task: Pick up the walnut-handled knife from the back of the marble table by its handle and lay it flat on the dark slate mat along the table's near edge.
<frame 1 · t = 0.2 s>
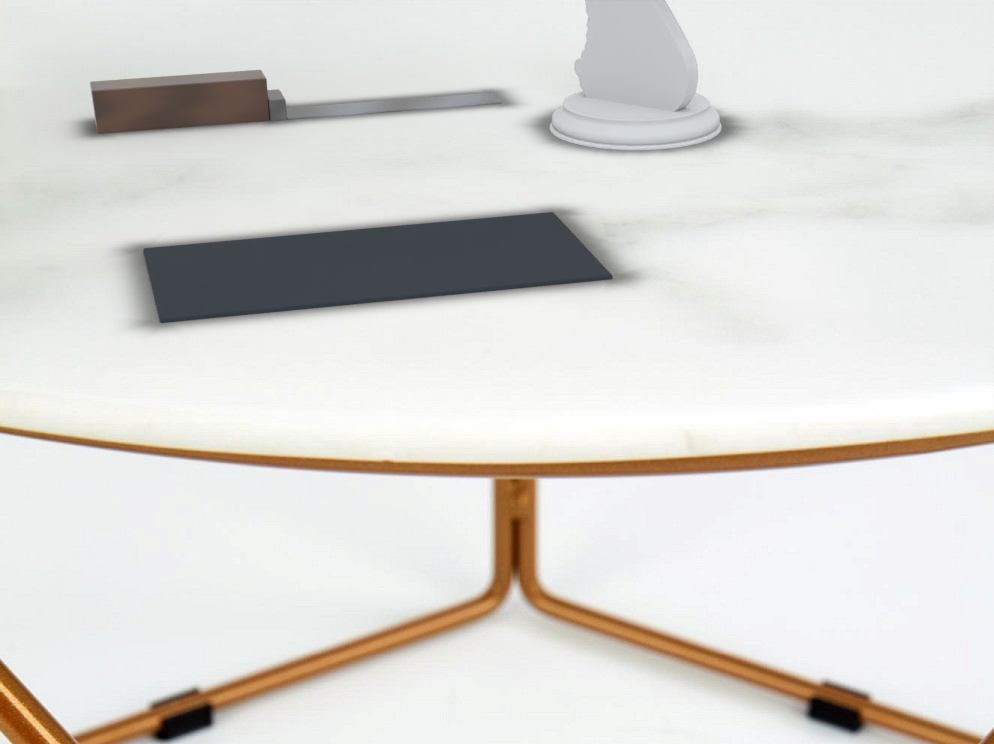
chess piece: (635, 138, 99), on the table
knife: (284, 121, 102), on the table
slate mat: (372, 273, 79), on the table
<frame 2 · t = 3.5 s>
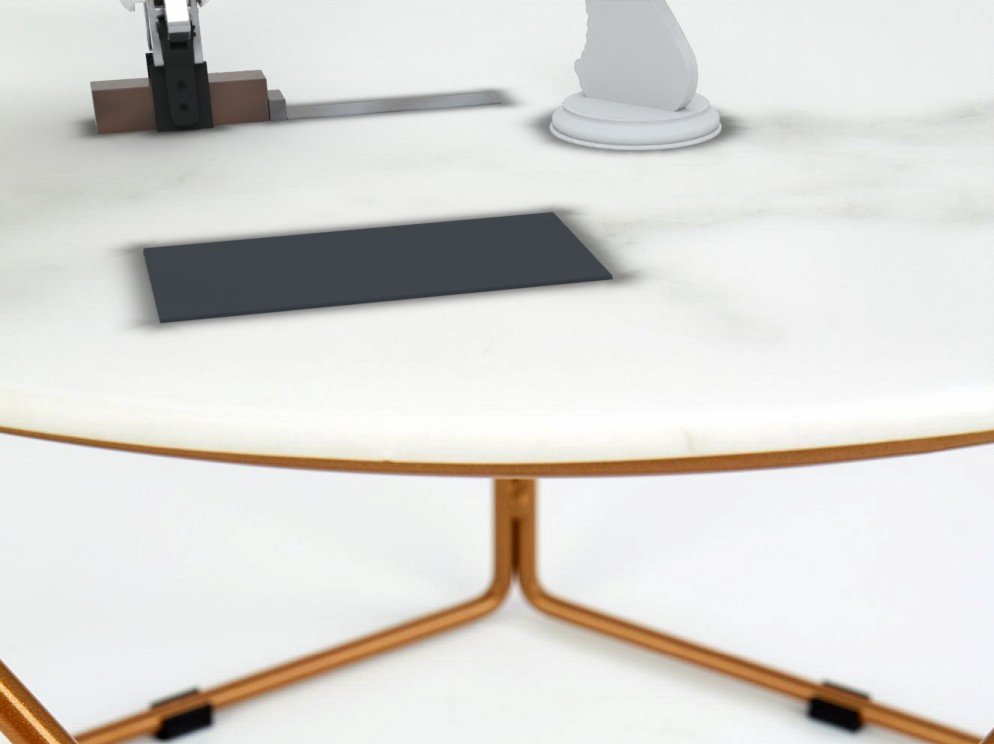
hand: (183, 126, 101), 0 cm above the table, tool pointing down, fingers closed on knife, 2 cm apart
knife: (284, 121, 102), on the table, touching gripper
everything else where it was.
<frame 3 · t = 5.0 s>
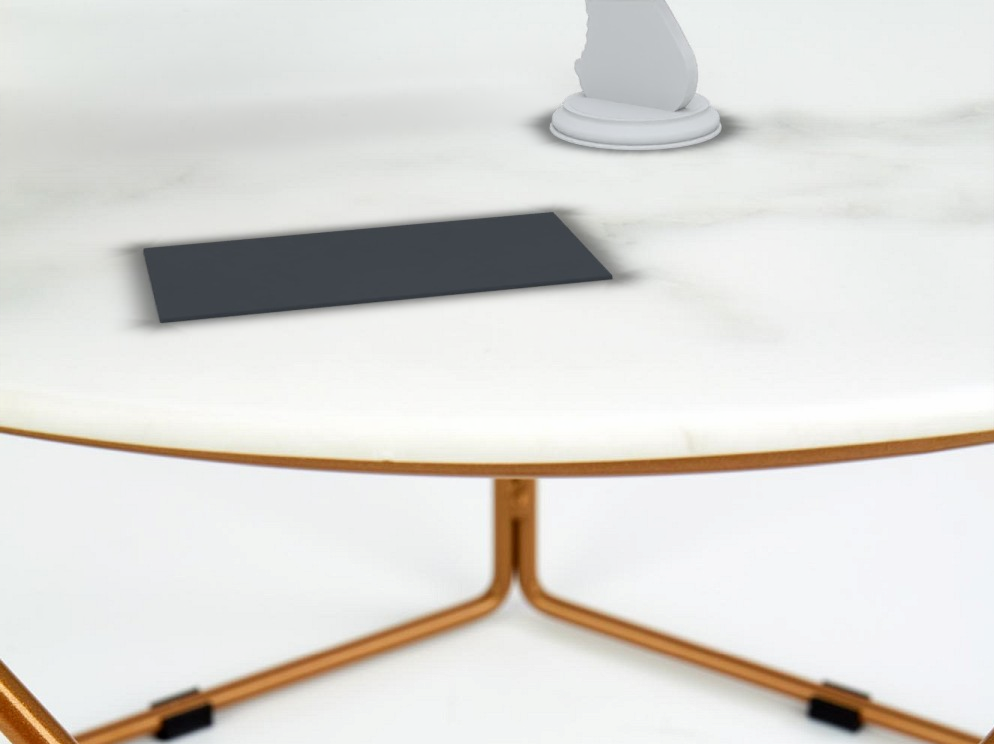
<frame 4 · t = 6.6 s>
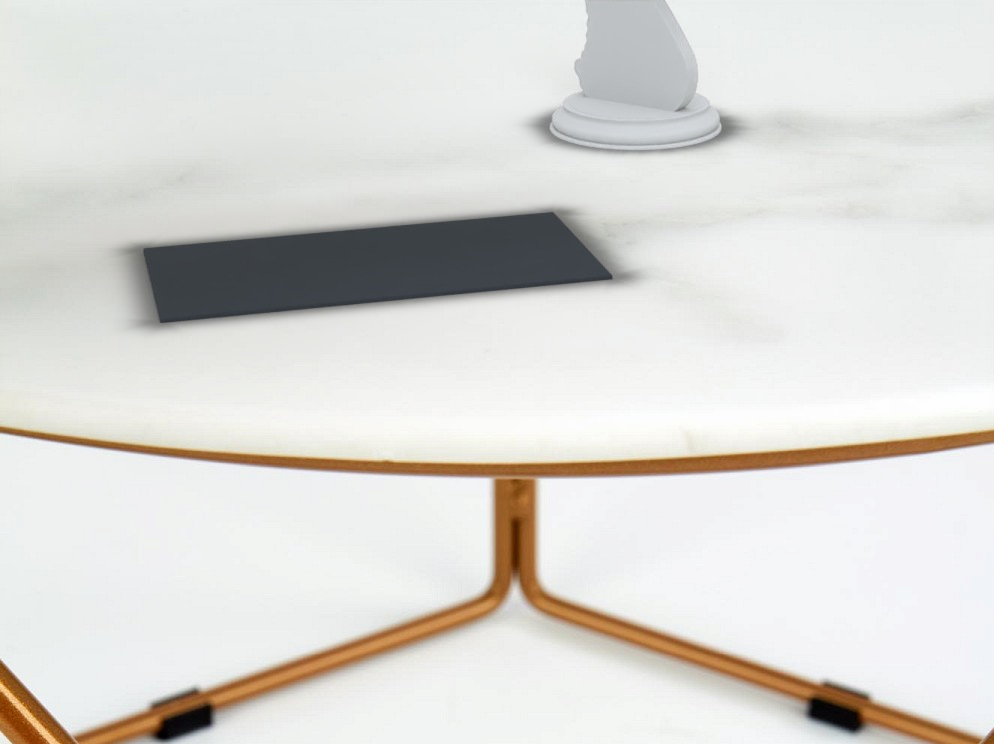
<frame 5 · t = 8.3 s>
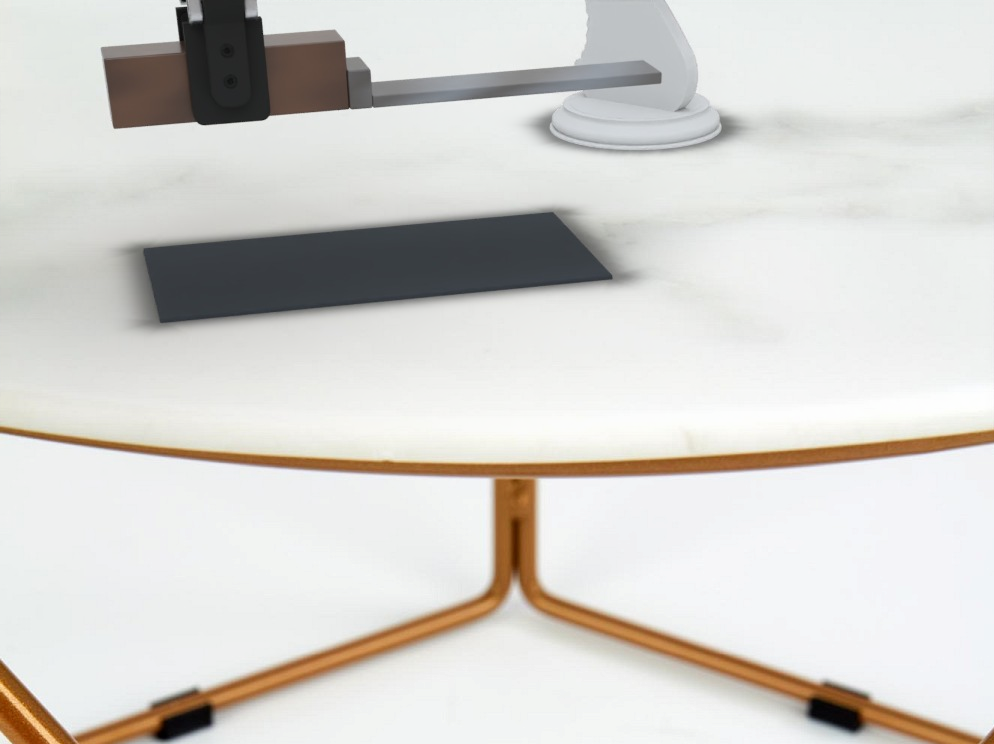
hand: (228, 108, 73), 8 cm above the table, tool pointing down, fingers closed on knife, 2 cm apart
knife: (367, 101, 75), point 8 cm above the table, touching gripper
everything else where it was.
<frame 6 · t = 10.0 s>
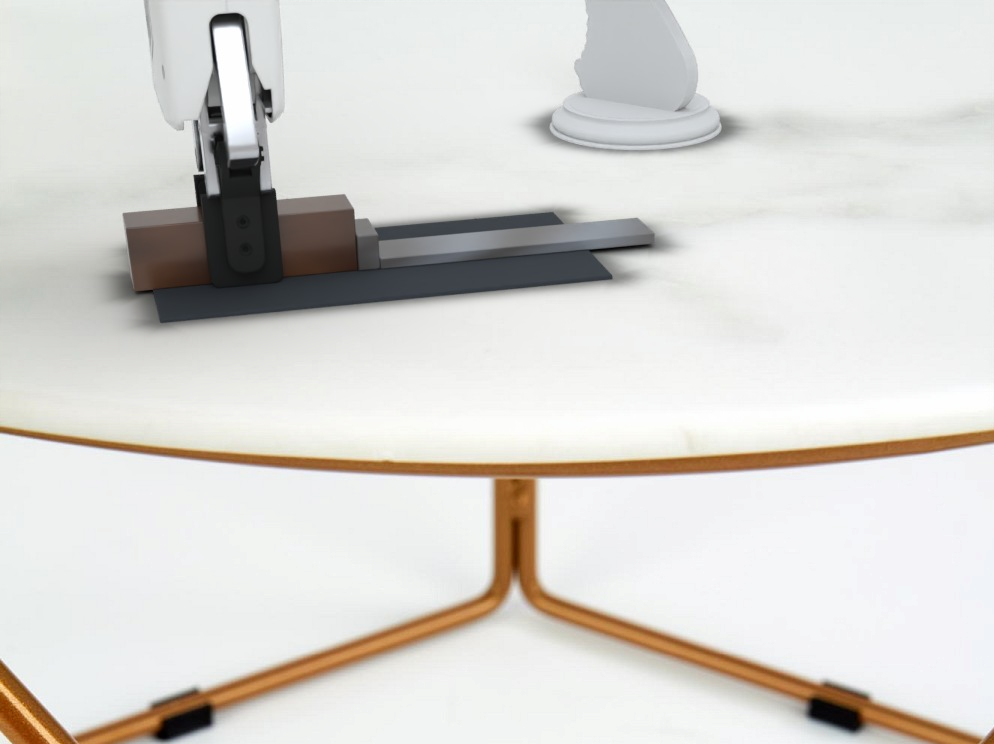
hand: (242, 269, 77), 1 cm above the table, tool pointing down, fingers closed, pressing on knife, slate mat
knife: (375, 260, 78), point 1 cm above the table, touching gripper, slate mat
everything else where it was.
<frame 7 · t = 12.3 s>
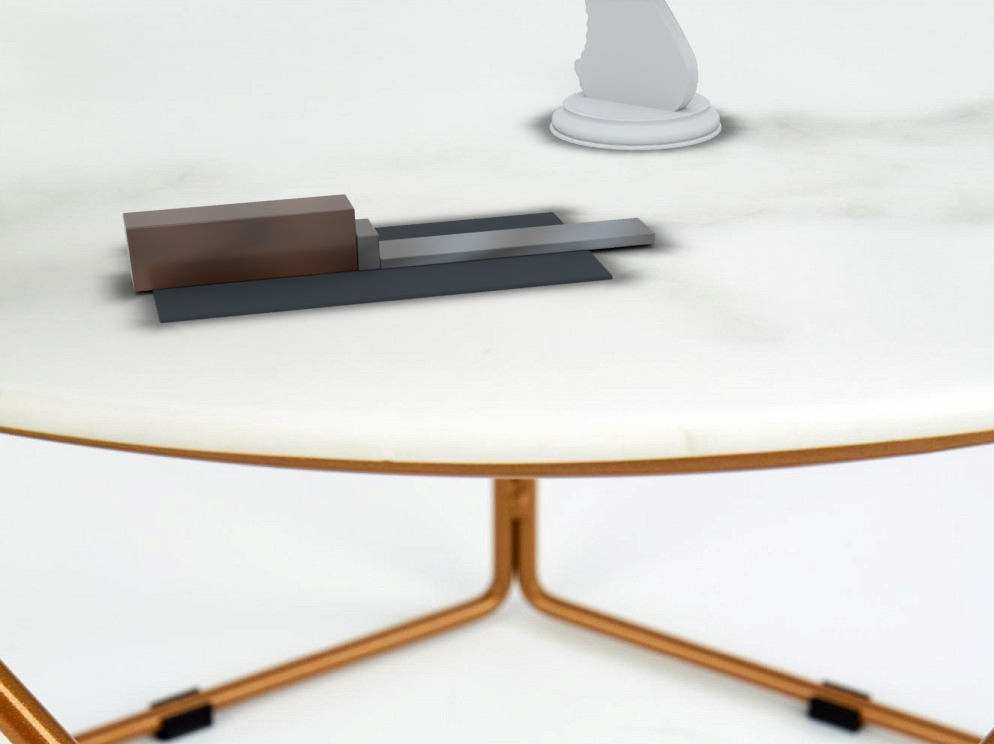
knife: (375, 260, 78), point 1 cm above the table, touching slate mat
everything else where it was.
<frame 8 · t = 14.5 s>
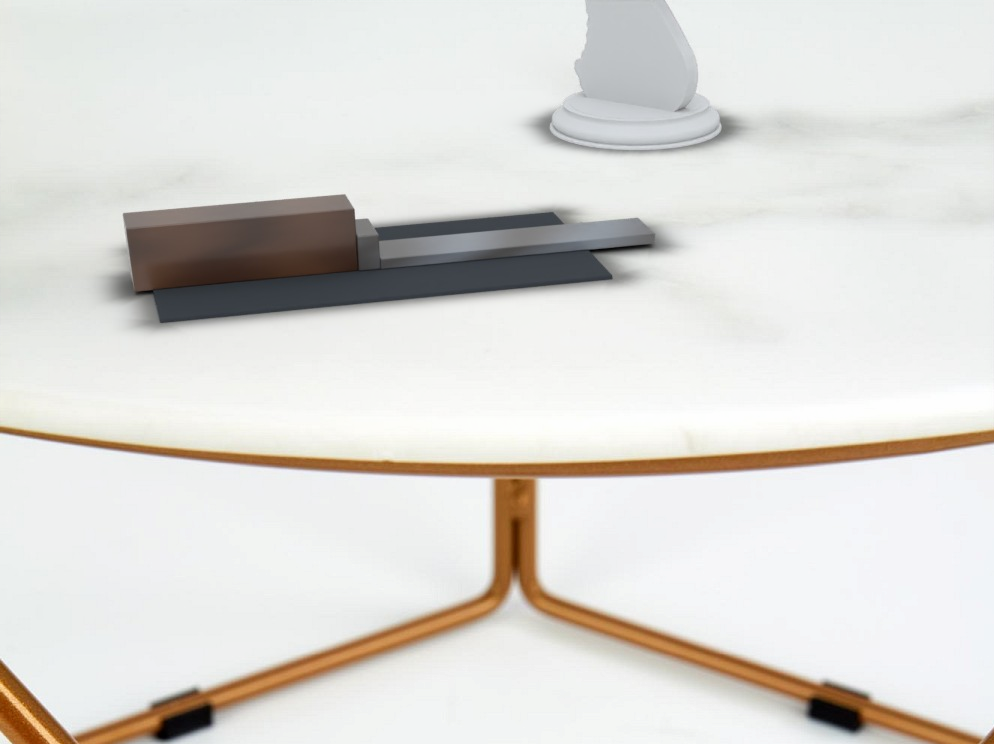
nothing on the table moved.
at the end: knife inside the target area on the slate mat (0.2 cm from its centre), point 0.6 cm above the slate mat's base; knife tilted 0°; the gripper is holding nothing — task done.
